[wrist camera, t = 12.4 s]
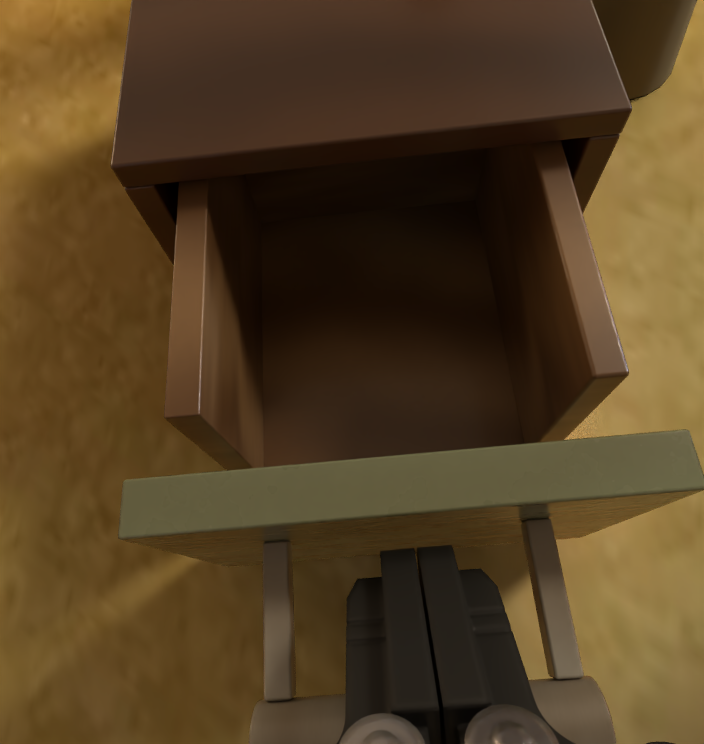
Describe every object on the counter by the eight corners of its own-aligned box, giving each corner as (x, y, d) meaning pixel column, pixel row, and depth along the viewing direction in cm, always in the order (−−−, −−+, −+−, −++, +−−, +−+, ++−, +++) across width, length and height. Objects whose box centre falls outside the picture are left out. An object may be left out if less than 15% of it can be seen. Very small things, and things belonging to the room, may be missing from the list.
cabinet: (537, 310, 22) (634, 108, 13) (221, 341, 22) (109, 166, 14) (477, 53, 28) (516, -206, 19) (227, 82, 28) (150, -158, 19)
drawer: (621, 712, 16) (812, 799, 9) (224, 741, 16) (87, 848, 9) (504, 199, 23) (554, 14, 16) (231, 228, 23) (159, 60, 16)
